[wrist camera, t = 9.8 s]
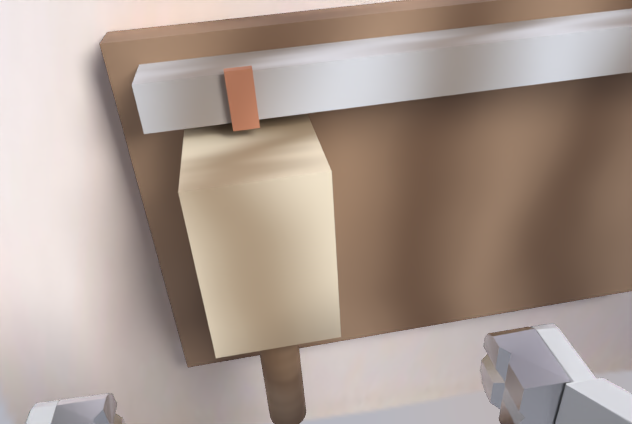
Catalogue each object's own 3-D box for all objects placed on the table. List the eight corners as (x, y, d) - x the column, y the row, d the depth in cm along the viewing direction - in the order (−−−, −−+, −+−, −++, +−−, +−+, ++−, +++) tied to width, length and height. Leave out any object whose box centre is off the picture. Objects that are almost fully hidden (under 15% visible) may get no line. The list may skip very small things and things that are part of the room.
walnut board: (720, -34, 20) (817, -18, 17) (631, 268, 28) (686, 320, 24) (107, 32, 18) (85, 65, 15) (188, 342, 25) (185, 410, 22)
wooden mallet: (303, 105, 19) (331, 171, 14) (322, 339, 24) (346, 435, 20) (185, 119, 18) (178, 192, 14) (233, 355, 24) (238, 456, 20)
